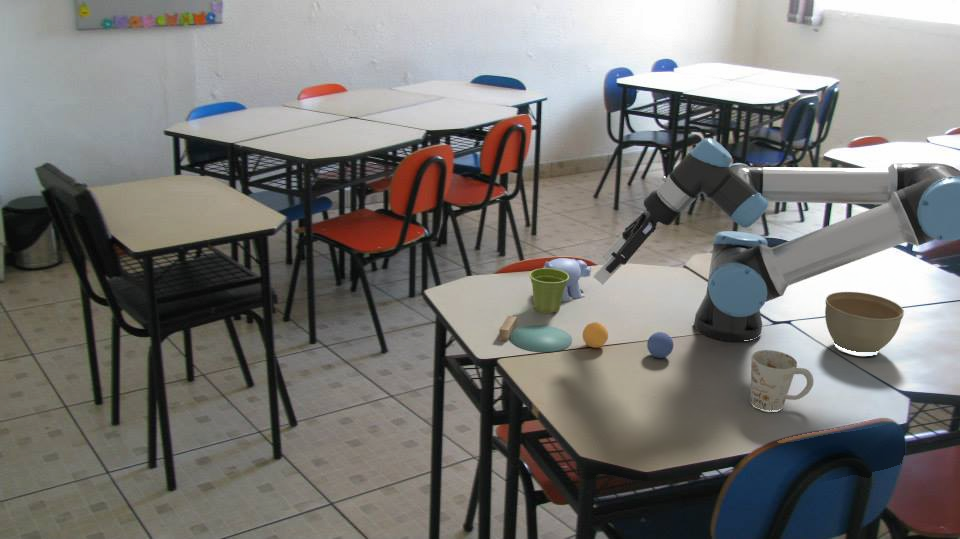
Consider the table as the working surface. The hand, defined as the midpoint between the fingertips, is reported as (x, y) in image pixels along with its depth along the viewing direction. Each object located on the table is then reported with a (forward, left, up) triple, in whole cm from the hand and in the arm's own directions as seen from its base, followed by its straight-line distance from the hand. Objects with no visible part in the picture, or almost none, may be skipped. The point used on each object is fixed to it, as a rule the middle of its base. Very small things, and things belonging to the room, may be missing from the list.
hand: (602, 269), depth 201 cm
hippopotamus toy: (+11, -22, -16) cm, 30 cm away
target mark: (+11, +8, -15) cm, 20 cm away
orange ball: (-1, +8, -13) cm, 15 cm away
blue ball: (-15, +7, -13) cm, 21 cm away
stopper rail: (+19, +7, -15) cm, 25 cm away
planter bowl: (-57, -13, -16) cm, 60 cm away
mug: (-39, +22, -15) cm, 47 cm away
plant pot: (+13, -10, -15) cm, 22 cm away
